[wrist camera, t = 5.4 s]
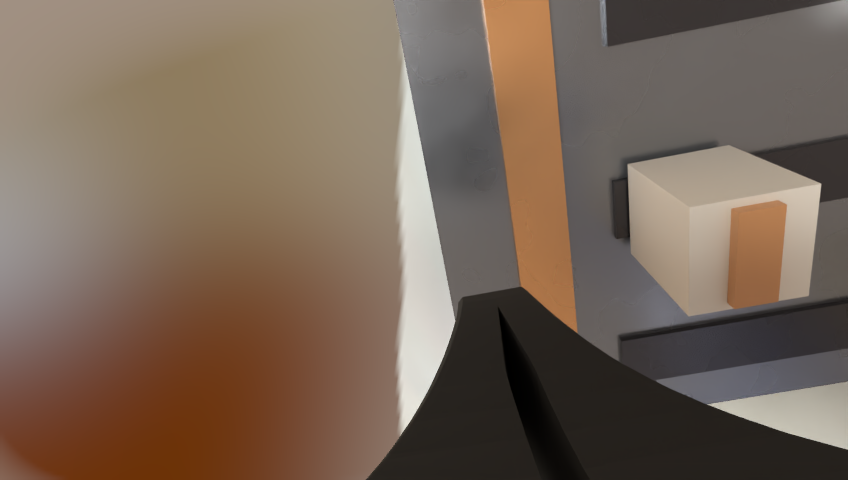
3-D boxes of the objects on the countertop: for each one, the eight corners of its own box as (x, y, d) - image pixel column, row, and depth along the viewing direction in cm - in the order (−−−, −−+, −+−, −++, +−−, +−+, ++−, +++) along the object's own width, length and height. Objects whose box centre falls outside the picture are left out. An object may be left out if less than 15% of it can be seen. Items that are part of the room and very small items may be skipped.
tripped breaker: (725, 236, 16) (817, 302, 12) (630, 252, 16) (694, 323, 12) (728, 145, 15) (831, 187, 11) (627, 164, 15) (696, 212, 11)
